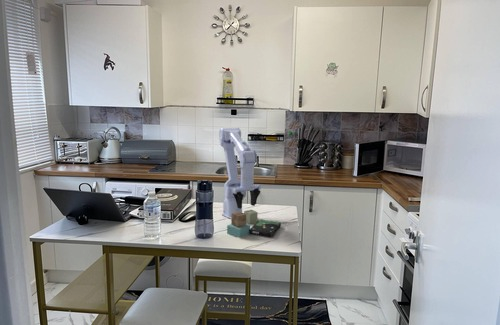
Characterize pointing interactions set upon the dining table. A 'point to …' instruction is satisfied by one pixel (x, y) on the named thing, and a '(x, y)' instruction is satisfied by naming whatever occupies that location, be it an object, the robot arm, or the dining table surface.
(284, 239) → the dining table surface
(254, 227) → the disk drive
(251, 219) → the olive block
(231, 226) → the teal block
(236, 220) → the walnut block
